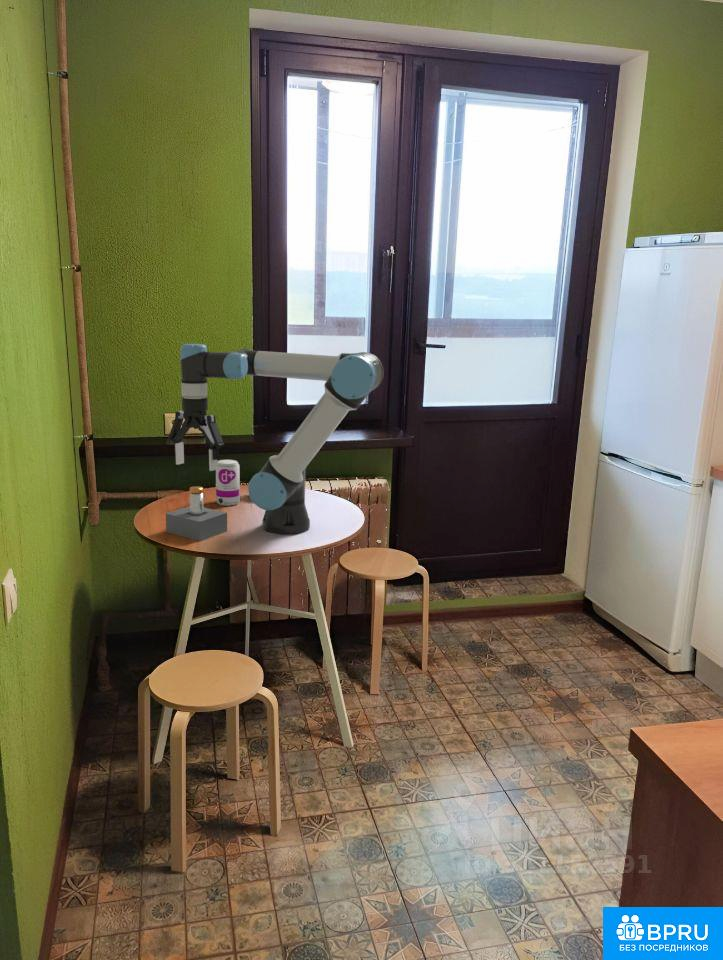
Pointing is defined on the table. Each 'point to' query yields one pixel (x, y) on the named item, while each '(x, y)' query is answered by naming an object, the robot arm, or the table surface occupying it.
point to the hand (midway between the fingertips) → (196, 467)
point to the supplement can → (227, 482)
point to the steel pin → (196, 501)
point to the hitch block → (196, 523)
